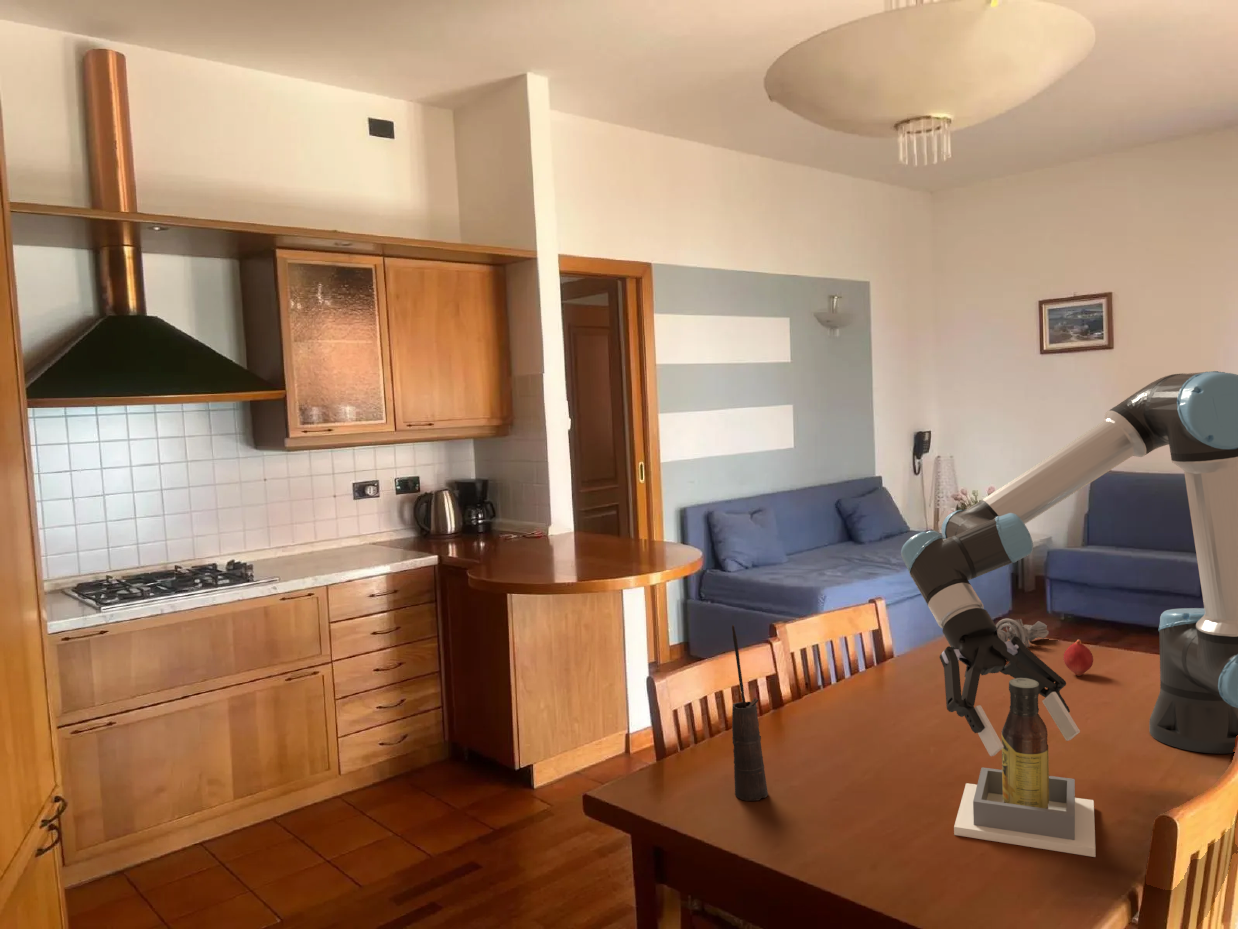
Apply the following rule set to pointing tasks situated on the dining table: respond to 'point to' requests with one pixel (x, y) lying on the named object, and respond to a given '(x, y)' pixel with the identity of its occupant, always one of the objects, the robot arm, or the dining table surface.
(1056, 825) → the bottle stand
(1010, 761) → the sauce bottle
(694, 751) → the dining table surface
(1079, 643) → the onion
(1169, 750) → the dining table surface
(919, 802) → the dining table surface
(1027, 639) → the spaceship
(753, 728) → the butter churn
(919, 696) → the dining table surface
